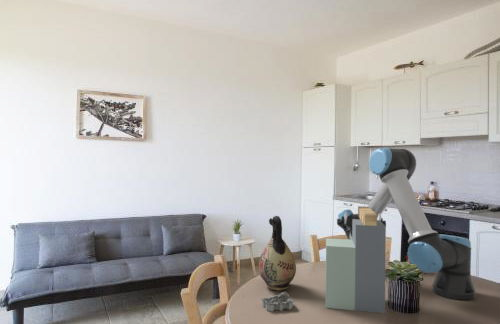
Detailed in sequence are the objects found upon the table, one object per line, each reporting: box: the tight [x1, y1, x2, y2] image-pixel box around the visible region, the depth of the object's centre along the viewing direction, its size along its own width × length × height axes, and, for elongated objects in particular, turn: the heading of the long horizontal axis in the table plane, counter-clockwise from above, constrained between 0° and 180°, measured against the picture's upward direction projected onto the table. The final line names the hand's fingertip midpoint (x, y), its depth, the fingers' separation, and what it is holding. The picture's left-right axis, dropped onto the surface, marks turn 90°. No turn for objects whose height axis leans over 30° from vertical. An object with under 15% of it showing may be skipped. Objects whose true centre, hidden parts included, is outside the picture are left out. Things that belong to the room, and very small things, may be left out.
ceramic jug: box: [258, 215, 297, 291], centre depth 147 cm, size 17×15×30 cm
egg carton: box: [261, 291, 295, 312], centre depth 127 cm, size 11×8×4 cm
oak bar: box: [357, 205, 377, 226], centre depth 136 cm, size 24×4×4 cm, turn 168°
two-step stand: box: [324, 219, 387, 314], centre depth 132 cm, size 14×20×30 cm
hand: (362, 215), depth 147 cm, fingers open, 13 cm apart
